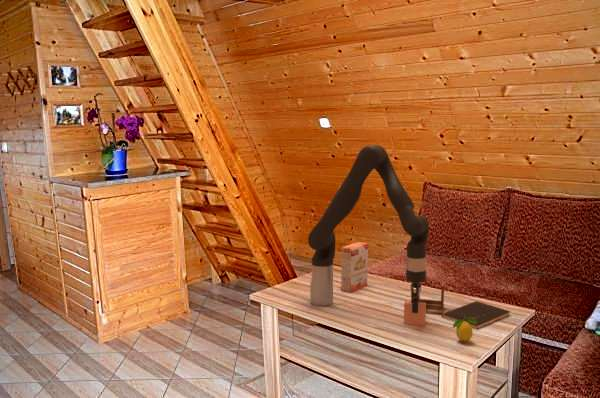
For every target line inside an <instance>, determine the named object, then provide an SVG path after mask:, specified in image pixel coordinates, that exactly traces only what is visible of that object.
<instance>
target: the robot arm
mask: <svg viewBox="0 0 600 398" xmlns="http://www.w3.org/2000/svg"><path fill="white" fill-rule="evenodd" d="M394 168H395V167H394V166H393V164H392V161H391V159H390V156H389V155H388V153H387V150H386V149H385V148H384V147H383V146H381V145H378V144H377V145H376V144H375V145H374V144H373V145H371V144H370V145H366V146H363V147H362V148H361V149H360V151H359V152H358V154H357V156H356V158H355V161H354V162H353V164H352V167H351V169H350V170H349V171H348V173H347V175H346V177H345V179H344V180H343V181H342V183H341V185H340V186H339V188H338V189H337V191H336V192H335V194H334V196H333V197H332V199H331V201H330V203H329V204H328V206H327V208H326V209H325V211H324V212H323V215H322V216H321V218H320V219H319V220H318V222H317V223H316V224H315V226H314V227H313V228H312V229H311V231H310V232H309V234H308V237H307V238H308V239H307V243H308V246H309V247H310V248H311V249H312V250H314V251H315V252H314V254H313V255H312V257H311V281H310V287H309V288H310V293H309V294H310V304H312V305H315V306H319V307H320V306H322V307H325V306H327V307H328V306H330V305H332V304H333V303H334V259H335V256H336V234H335V231H334V230H335V229H336V227H338V225H339V224H340V223H342V221H344V219H345V218H347V217H348V216H349V214H350V213H351V212H352V211H353V209H354V208H355V206H356V204H357V203H358V202H359V200H360V197H361V194H362V189H363V185H364V184H365V181H366V179H367V178H368V177H369V175H370V174H371V172H372V171H374V170H375V171H376V172H377V174H378V175H379V176H380V178H381V180H382V182H383V185H384V187H385V192H386V195H387V197H388V200H389V201H390V204H392V207H393V208H394V209H395V212H396V213H397V215H398V217H399V221H400V224H401V227H402V228H403V230H404V231H405V233H406V234H407V235H409V236H410V240H409V241H408V242H407V243H406V260H405V261H406V262H405V279H406V281H408V282H411V283H413V284H410V289H409V290H410V301H411V303H412V313H418V303H419V299H421V292H422V284H421V283H424V282H426V280H427V258H426V257H427V251H426V250H427V247H426V246H427V242H428V237H429V231H430V225H429V222H428V219H427V217H425V216H424V215H416V213H415V211H414V208H415V204H414V202H413V201H412V200H413V199H412V198H411V197H410V196H409V194H408V193H407V191H406V189H405V188H404V186H403V184H402V182H401V181H400V178H399V177H398V175H397V173H396V171H395V169H394ZM413 298H414V300H413Z"/></svg>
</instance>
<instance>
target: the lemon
mask: <svg viewBox="0 0 600 398" xmlns="http://www.w3.org/2000/svg"><path fill="white" fill-rule="evenodd" d="M467 319H468V321H469V322H471V323H473V324H476V323H477V321H476V319H475V318H473V317H467ZM463 320H464V321H463ZM463 320H462V319H459V320H457V321H455V322H453V325H452V328H454V329H455V331H456V332H455V333H456V337H457V338H458V339H459V340H461V342H467V341H470V340H471V339H472V336H473V328H472V327H471V325H470V324H469V323H468V322H466V321H465V315H464V319H463Z"/></svg>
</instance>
